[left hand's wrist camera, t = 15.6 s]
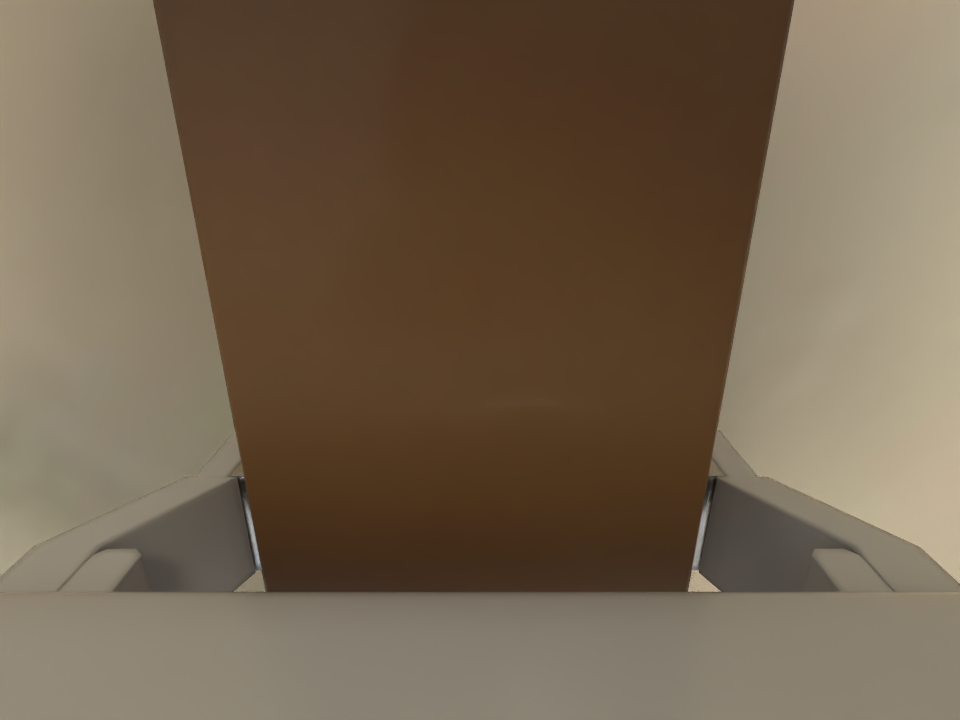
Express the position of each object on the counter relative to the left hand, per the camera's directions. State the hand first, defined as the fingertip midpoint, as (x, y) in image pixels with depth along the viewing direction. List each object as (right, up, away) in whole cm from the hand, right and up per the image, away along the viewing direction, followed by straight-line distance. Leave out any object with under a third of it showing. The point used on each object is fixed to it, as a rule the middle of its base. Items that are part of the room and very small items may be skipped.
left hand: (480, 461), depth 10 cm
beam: (0, -18, +10) cm, 20 cm away
